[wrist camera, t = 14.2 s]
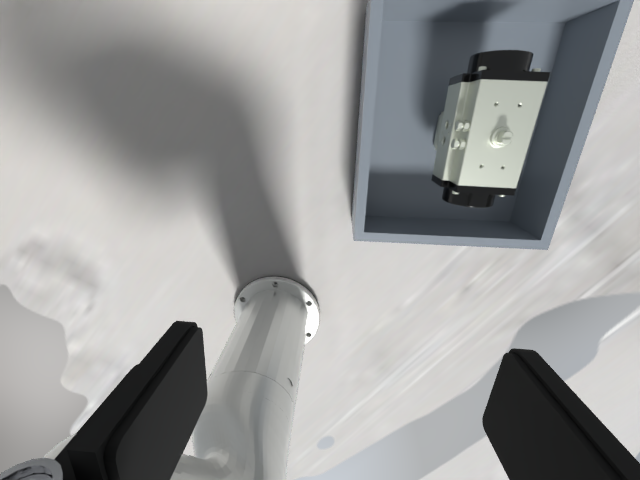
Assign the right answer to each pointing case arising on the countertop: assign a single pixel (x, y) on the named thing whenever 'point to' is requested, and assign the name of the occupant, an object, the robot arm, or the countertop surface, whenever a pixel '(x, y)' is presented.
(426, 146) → the parts bin
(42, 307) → the countertop surface
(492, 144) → the pneumatic valve
